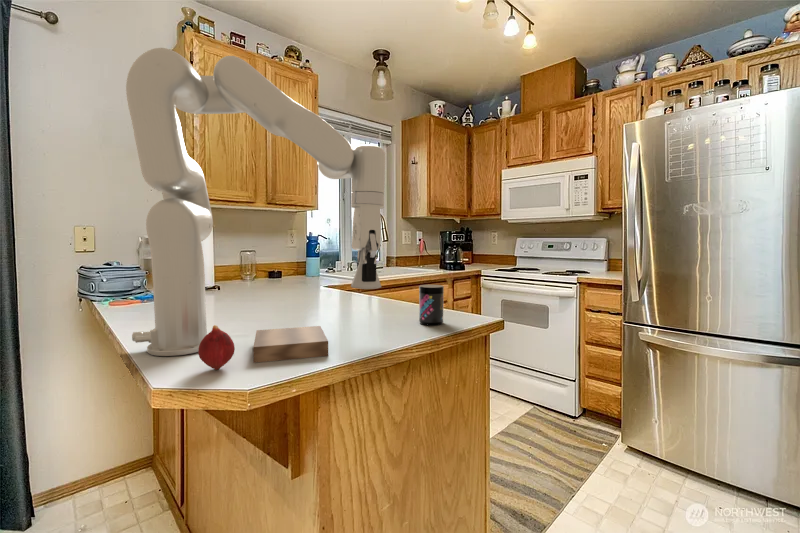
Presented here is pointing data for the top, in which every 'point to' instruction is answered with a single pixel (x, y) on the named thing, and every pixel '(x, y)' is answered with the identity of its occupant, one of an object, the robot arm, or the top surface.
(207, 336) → the onion
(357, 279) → the flask
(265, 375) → the top surface
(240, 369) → the top surface
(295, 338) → the block
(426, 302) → the supplement container
